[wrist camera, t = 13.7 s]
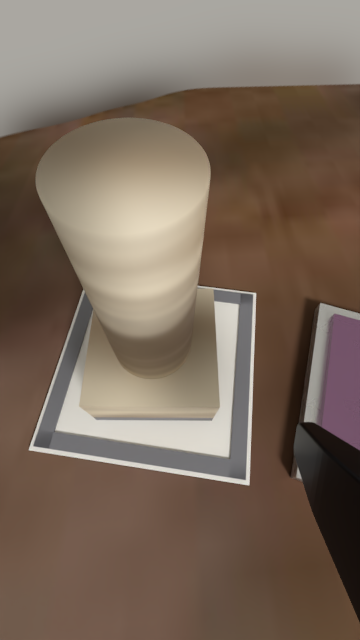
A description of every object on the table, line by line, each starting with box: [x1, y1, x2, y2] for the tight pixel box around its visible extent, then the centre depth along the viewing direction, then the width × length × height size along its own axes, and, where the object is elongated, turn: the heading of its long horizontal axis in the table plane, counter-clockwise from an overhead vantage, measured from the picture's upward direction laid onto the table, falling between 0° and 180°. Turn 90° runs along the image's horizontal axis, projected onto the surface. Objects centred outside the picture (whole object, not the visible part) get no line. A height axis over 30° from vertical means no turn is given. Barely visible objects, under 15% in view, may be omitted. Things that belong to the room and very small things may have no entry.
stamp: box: [36, 118, 220, 421], centre depth 12 cm, size 6×6×12 cm
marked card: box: [29, 286, 256, 485], centre depth 18 cm, size 11×11×1 cm
